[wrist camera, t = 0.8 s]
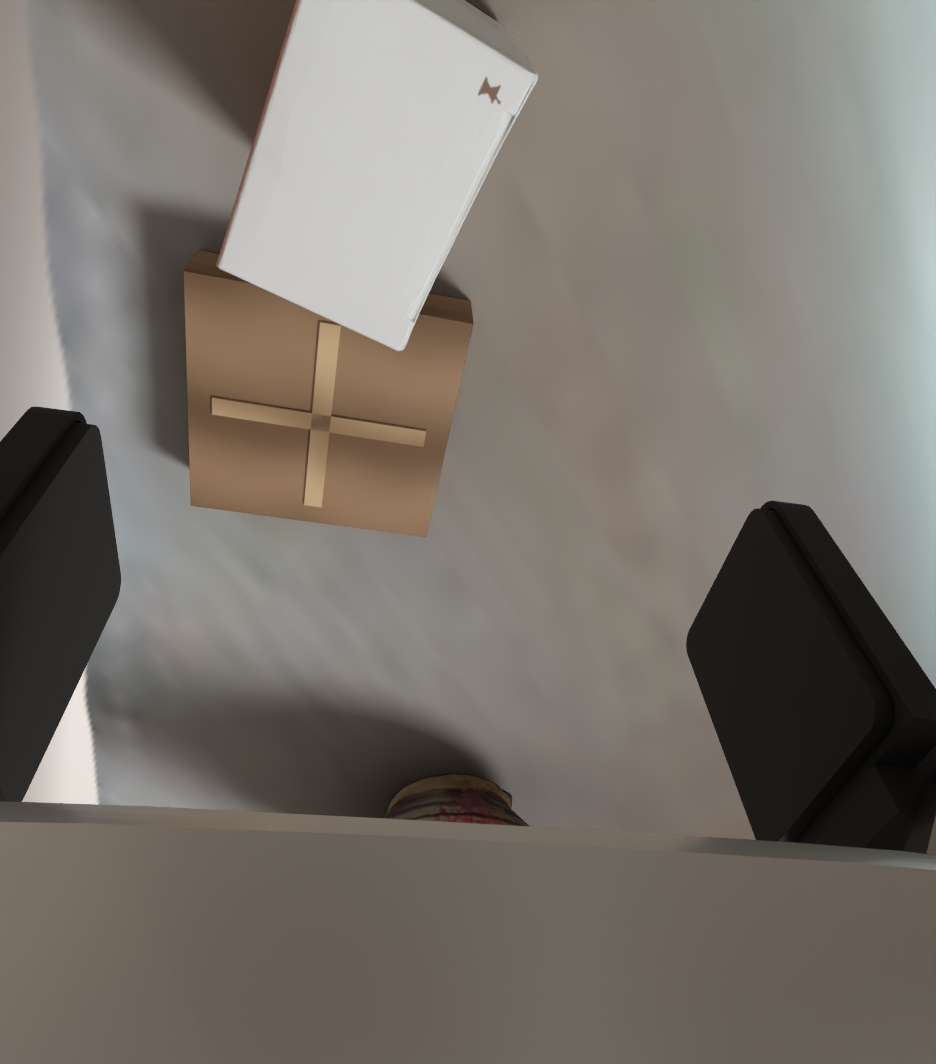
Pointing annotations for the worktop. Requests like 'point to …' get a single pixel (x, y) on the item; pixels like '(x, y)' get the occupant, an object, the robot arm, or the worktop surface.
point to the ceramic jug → (454, 801)
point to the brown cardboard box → (316, 407)
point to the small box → (372, 155)
